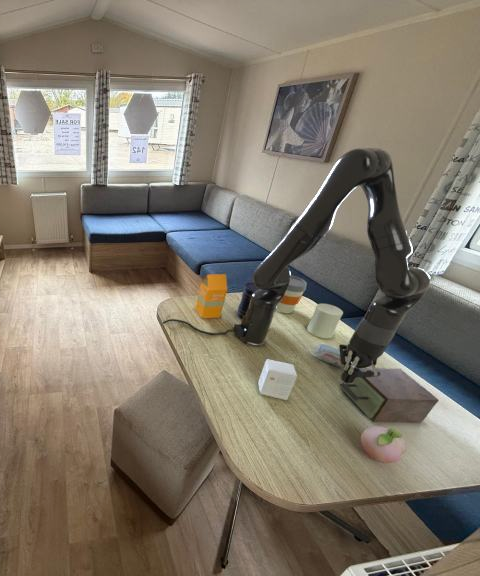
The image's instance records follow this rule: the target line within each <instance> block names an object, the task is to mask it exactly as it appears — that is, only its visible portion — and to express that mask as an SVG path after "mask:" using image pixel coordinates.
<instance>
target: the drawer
mask: <svg viewBox="0 0 480 576" xmlns="http://www.w3.org/2000/svg"><path fill="white" fill-rule="evenodd" d="M339 386H340V387H341V389H342V391H343V392H344V393H345V394H346V395H347V396H348V397H349V399H351V401H352V402H353V403H354V404H355V405H356V406H357V407H358V408H359V409H360V411H362V412H363V413H364V415H365V416H367V418H369V419H370V418H373V417H374V416H375V414H376V413H377V411H378V410H379V408H380V407H381V405H382V404H383V402H384V401H385V398H383V397H382V396H381V395H380V394H379V393H378V392H376V391H375V390H374V389H373V388H372V387H371V386H370V384H369V383H368V382H367V381H366V380H365V379H364V378H355V379H354V381H353V382H352V383H344V382H341V383H340V384H339Z"/></svg>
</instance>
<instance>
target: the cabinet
mask: <svg viewBox="0 0 480 576" xmlns="http://www.w3.org/2000/svg"><path fill="white" fill-rule="evenodd" d="M368 368H369V367H367V368H366V369H368ZM375 368H376V371H379V372H380V376H373V377H366V378H364V379H365V380H366V381H367V382H368V383H369V384H370V385H371V386H372V387H373V388H374V389H375V390H376V391H377V392H378V393H379V394H380V395H381V396H383V397H384V398H385V401H384V402H383V404H382V405H381V407H380V408H379V410H378V411H377V413H376V414H375V416H374V417H373V418H369V419H370V420H371V421H372V423H411V424H412V423H414V424H415V423H417V424H421V423H422V422H423V421H424V420H425V419H426V417H427V416H428V415H429V414H430V412H431V411H432V410H433V409H434V407H435V406H436V405H437V404H438V403H439V401H440V399H439V398H437V397H436V396H435V395H433V394H432V392H429V390H428V389H426V388H425V387H424V386H422V384H420V383H419V382H417V381H416V380H415V379H414V378H413V377H411V376H410V375H409V374H407V373H406V372H405V371H404V370H402V369H401V368H377V367H375ZM366 369H365V370H366ZM365 370H362V372H366V371H365Z"/></svg>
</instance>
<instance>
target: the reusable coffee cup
mask: <svg viewBox="0 0 480 576" xmlns="http://www.w3.org/2000/svg"><path fill="white" fill-rule="evenodd" d="M307 285H308V282H307V281H306V280H304V279H303V278H301V277H298V276H295V275H291V278H290V282H289V285H288V287H287V290H286V292H285V294H284V297H283V299H282V300H281V301H280V302H279V303H278V305H277V308H276V311H275V312H278V313H282V314H291V313H292V312H293V311H294V309H295V308H296V306H297V305H298V304H299V302H300V301H301V299H302V297H303V295H304V292H305V291H306V290H307Z"/></svg>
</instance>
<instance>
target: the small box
mask: <svg viewBox="0 0 480 576" xmlns="http://www.w3.org/2000/svg"><path fill="white" fill-rule="evenodd" d="M297 378H298V375H297V372H296V368H295V365H294V364H293V363H292V364H291V363H287V362H282V361H278V360H273V359H268V358H267V359H266V361H265V362H264V365H263V367H262V371H261V373H260V376H259V379H258V381H257V383H258V389H259V394H260V395H263V396H268V397H272V398H276V399H280V400H284V401H287V400H288V399H289V398H290V397H289V396H290V394H291V392H292V390H293V387H294V385H295V384H296V380H297Z"/></svg>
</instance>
